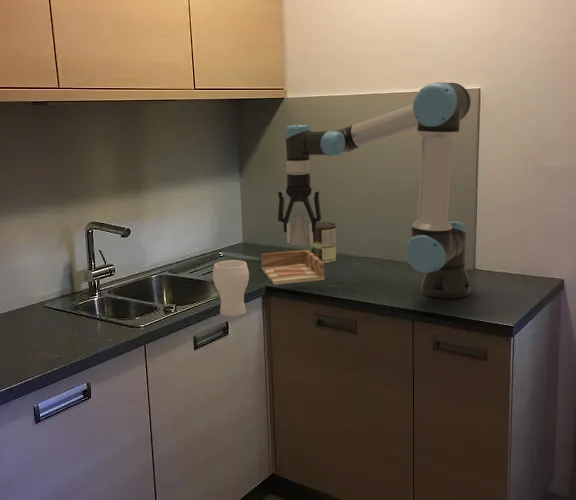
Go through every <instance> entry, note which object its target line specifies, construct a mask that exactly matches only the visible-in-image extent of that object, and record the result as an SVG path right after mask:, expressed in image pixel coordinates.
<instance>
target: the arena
mask: <svg viewBox="0 0 576 500" xmlns="http://www.w3.org/2000/svg"><path fill="white" fill-rule="evenodd" d="M260 255H261V257H260V258H261V259H260V261H261V271H262V272H263V273H264V274H265V276H266V277H267V278H268V279H269V281H270V282H271V283H272V285H275V286H276V285H284V284H286V285H288V284H293V283H294V284H296V283H305V282H317V281H324V280H325V263H324V262H323V261H321V260H320V259H319V258H318V257H316V256H315V255H314V254H313V253H311V252H310V249H301V250H289V251H288V250H287V251H278V252H266V253H260Z"/></svg>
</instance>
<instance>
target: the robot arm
mask: <svg viewBox="0 0 576 500" xmlns="http://www.w3.org/2000/svg"><path fill="white" fill-rule="evenodd" d="M471 103H472V100H471V96H470V93H469V91H468V90H467V89H466V87H465V86H463V85H461V84H459V83H455V82H442V81H438V82H432V83H428V84H427V85H425V86H423V87H422V88H421V89H420V90H419V91H418V92H417V93H416V95H415V97H414V99H413V103H412V104H408V105H406V106H404V107H402V108H397V109H396V110H393V111H389V112H387V113H383V114H381V115H377V116H376V117H373V118H370V119H366V120H363V121H362V122H361V121H360V122H358V123H356V124H353V125H350V126H347V127H344V128H340V129H332V130H320V131H317V130H314V131H311V130H310V128H309V125H307V124H294V125H293V124H292V125H288V126H286V128H285V149H286V151H285V152H286V172H287V175H286V186H287V187H286V189H285V190H279V192H278V193H277V195H278V199H279V201H278V213H277V214H278V215H277V216H278V217H277V221H278V222H282V223H283V232H284V233H286V236H287V237H286V238H287V239H286V241H287V242H286V243H287V244H289V243H290V240H291V237H292V231H291V230H292V229H291V225H292V224H291V223H292V222H291V221H289V219H290V217H291V214H292V210H293V208H294V204H295V203H297V202H299V203H300V202H301V203H303V205H304V207H305V209H306V211H307V215H308V217H309V220H310V223H309V225H308V228H309V233H308V234H309V237H310V243H312V242H313V233H315V232H316V223H319V222H320V221H322V212H321V205H320V194H321V191H320V190H314V189H312V188H311V174H310V173H309V172H310V171H311V170H310V169H311V168H310V167H311V166H310V164H311V162H310V161H311V160H310V156H329V157H332V156H340V155H342V153H348V152H349V153H350V152H353V151H355V150H356V149H360V147H364V146H368V145H370V144H373V143H377V142H380V141H383V140H386V139H389V138H390V139H391V138H392V137H395V136H398V135H402V134H404V133H408V132H412V131H414V130H417V133H418V134H419V135H420V136H421V138H422V139H421V153H420V171H419V172H420V173H419V174H420V175H419V191H418V207H417V219H416V220H415V221H414V222H413V223H412V224H411V235H410V236H411V237H410V239H409V240H408V241H407V243H406V246H405V249H404V255H405V258H406V261H407V262H408V263H407V264H409V265H410V266H411V267H412V269H414V270H416V271H417V272H420V273H424V276H423V279H422V282H421V285H420V286H421V290H420V292H421V293H422V295H425V296H427V297H430V298H435V299H448V300H449V299H451V300H453V299H461V298H465V297H467V296H469V295H471V285H470V281H469V277H468V275H467V271H466V240H467V239H466V238H467V236H466V235H467V231H466V230H467V229H466V224H465V223H464V222H462V221H457V220H455V221H454V220H453V221H452V220H448V218H449V216H448V215H449V206H450V205H449V203H450V191H451V188H450V187H451V176H452V175H451V174H452V163H453V162H452V161H453V160H452V159H453V145H454V138H455V136H457V135H458V134H459V133H460V124H461V121H462V120H463V119H464V118H466V116H467V115H468V113H469V111H470V109H471ZM286 195H287V196H288V198H290V199H289V202H288V206H287V209H286V211H285V215H284V209H285V198H286ZM310 195H312V197H313V199H314V200H313V201H314V210H315V214H314V211H313V208H312V205H311V203H310V200H309V198H310Z"/></svg>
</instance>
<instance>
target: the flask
mask: <svg viewBox="0 0 576 500" xmlns="http://www.w3.org/2000/svg"><path fill="white" fill-rule="evenodd" d="M304 216H305V213H295V214H294V217H295V222H294V223H295V224H294V228H293V231H292V233H291V240H290V243H288V244H289V245H292V246H293V245H294V246H306V245H310V234H309V233H308V230H307V227H306V225H305V220H304V219H305V217H304Z"/></svg>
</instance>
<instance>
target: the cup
mask: <svg viewBox="0 0 576 500" xmlns="http://www.w3.org/2000/svg"><path fill="white" fill-rule="evenodd" d="M249 271H250V270H249V267H248V264H247V262H246V261H244V260H236V259H231V260H229V259H228V260H222V261H218V262H216V263H214V265H213V269H212V277H213V278H212V280H213V283H214V286H215V288H216V290H217V292H218V294H219V297H220V307H219V308H220V309H219V314H220V315H221V316H224V317H237V316H242V315H244V314H246V313H247V310H246V305H245V299H244V298H245V291H246V289H247V287H248V284H249V280H250V272H249Z"/></svg>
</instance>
